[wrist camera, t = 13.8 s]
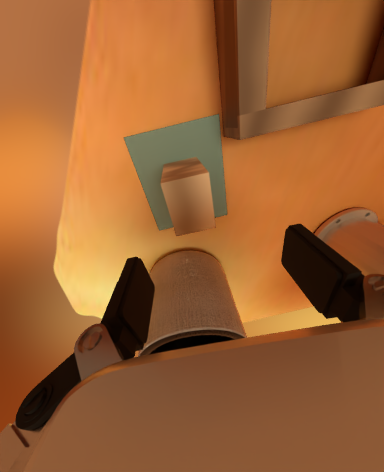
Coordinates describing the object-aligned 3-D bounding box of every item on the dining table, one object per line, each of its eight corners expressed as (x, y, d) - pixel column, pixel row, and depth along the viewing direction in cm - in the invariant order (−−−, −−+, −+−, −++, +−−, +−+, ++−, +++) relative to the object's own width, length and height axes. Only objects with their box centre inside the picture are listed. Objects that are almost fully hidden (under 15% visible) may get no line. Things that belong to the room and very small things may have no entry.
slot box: (451, -150, 12) (643, -338, 7) (367, 101, 21) (430, 93, 16) (207, -82, 13) (231, -215, 8) (223, 136, 21) (240, 139, 16)
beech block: (196, 156, 22) (208, 172, 15) (202, 197, 25) (215, 227, 18) (163, 164, 22) (160, 183, 15) (174, 204, 25) (176, 236, 18)
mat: (218, 114, 20) (218, 114, 20) (226, 213, 28) (227, 214, 28) (124, 137, 20) (123, 137, 20) (159, 229, 28) (159, 230, 28)
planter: (149, 244, 30) (134, 333, 17) (231, 249, 33) (270, 328, 20) (148, 297, 39) (137, 383, 26) (213, 298, 41) (232, 375, 29)
